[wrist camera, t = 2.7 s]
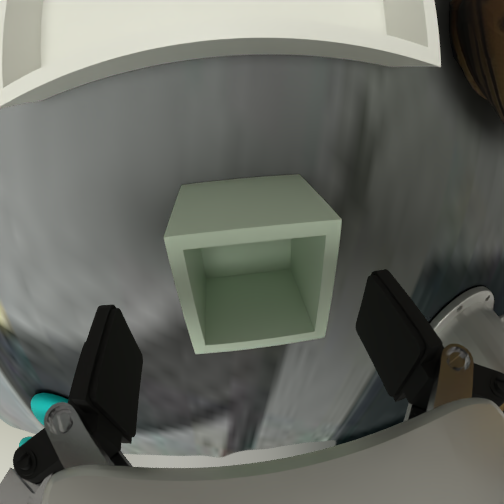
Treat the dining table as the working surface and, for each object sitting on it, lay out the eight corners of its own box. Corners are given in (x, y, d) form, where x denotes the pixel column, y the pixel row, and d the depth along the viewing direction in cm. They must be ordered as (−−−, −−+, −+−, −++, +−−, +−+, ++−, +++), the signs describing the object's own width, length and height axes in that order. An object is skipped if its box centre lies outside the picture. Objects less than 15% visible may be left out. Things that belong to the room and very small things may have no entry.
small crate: (299, 174, 15) (341, 219, 10) (296, 270, 19) (324, 337, 14) (181, 185, 15) (163, 237, 10) (198, 281, 18) (195, 354, 13)
